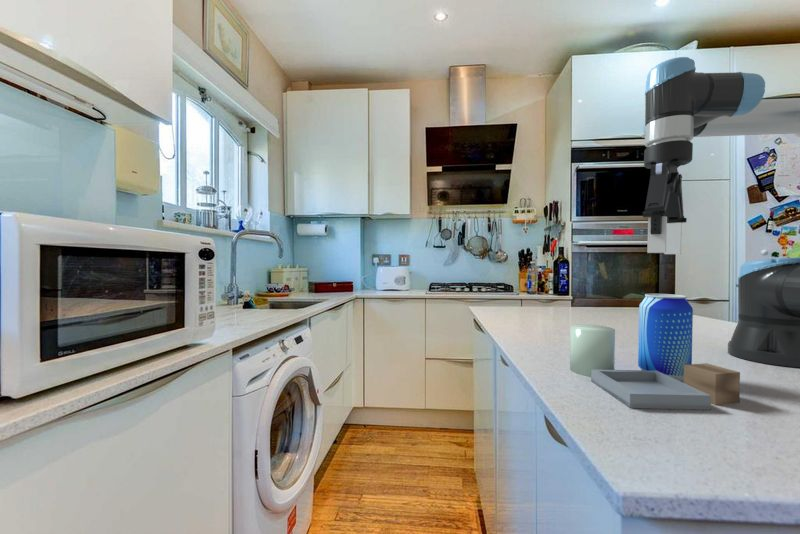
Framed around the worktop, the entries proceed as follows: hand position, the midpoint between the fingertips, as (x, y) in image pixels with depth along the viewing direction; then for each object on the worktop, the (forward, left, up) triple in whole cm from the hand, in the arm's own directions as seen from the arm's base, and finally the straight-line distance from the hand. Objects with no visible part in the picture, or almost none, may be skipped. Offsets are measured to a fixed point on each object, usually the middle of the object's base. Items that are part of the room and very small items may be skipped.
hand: (665, 253), depth 69 cm
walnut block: (0, +11, -24) cm, 27 cm away
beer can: (0, 0, -24) cm, 24 cm away
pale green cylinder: (+13, -2, -24) cm, 27 cm away
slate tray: (+10, +10, -24) cm, 28 cm away
